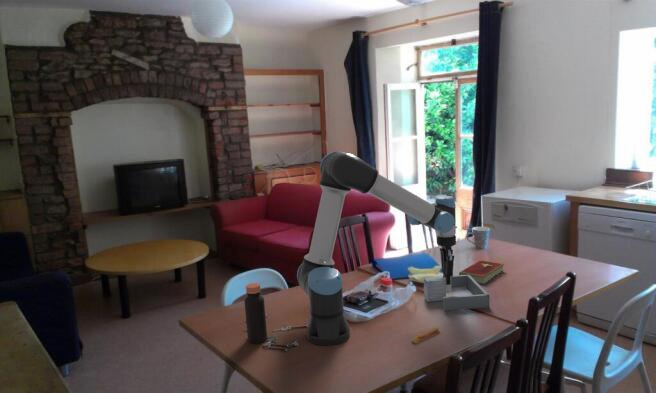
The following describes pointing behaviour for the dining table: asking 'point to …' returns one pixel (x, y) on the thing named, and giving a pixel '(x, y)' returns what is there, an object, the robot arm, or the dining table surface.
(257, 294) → the bottle
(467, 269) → the hardcover book
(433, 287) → the medicine box
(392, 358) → the dining table surface
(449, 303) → the open box
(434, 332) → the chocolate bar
